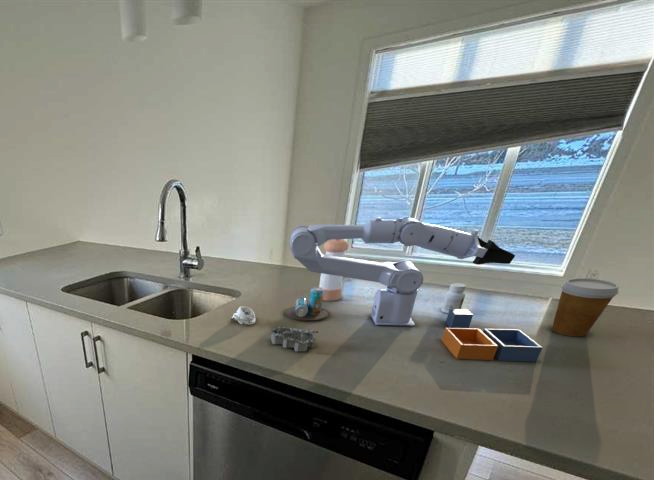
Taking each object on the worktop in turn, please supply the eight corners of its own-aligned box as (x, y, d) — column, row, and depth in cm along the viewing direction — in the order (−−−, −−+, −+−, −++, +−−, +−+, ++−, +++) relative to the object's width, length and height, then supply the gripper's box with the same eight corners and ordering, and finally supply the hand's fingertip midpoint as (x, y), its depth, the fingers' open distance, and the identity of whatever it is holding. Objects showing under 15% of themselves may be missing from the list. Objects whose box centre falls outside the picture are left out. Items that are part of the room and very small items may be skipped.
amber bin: (456, 358, 92) (461, 344, 91) (441, 340, 100) (445, 327, 99) (492, 360, 90) (498, 346, 89) (474, 341, 99) (479, 328, 97)
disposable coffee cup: (586, 325, 101) (609, 278, 95) (603, 341, 94) (630, 290, 88) (537, 322, 105) (556, 276, 99) (550, 337, 97) (572, 288, 91)
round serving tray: (328, 322, 116) (332, 295, 112) (284, 320, 120) (287, 294, 116) (326, 308, 126) (330, 282, 122) (286, 306, 129) (288, 282, 125)
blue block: (450, 328, 106) (455, 314, 104) (445, 323, 109) (449, 308, 107) (468, 329, 105) (473, 314, 103) (462, 323, 108) (467, 309, 106)
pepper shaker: (344, 300, 130) (354, 238, 121) (321, 301, 131) (330, 240, 121) (335, 293, 137) (344, 234, 127) (313, 294, 137) (321, 236, 127)
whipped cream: (242, 318, 127) (242, 302, 125) (261, 320, 122) (261, 304, 120) (227, 324, 122) (227, 308, 120) (246, 327, 117) (246, 310, 115)
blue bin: (498, 360, 90) (503, 346, 88) (479, 341, 98) (484, 328, 97) (536, 361, 88) (542, 347, 86) (513, 342, 96) (519, 329, 95)
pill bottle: (462, 314, 113) (471, 287, 109) (444, 314, 114) (453, 287, 110) (455, 308, 117) (463, 282, 113) (438, 308, 118) (446, 282, 114)
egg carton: (318, 345, 104) (320, 331, 102) (300, 354, 100) (302, 339, 98) (284, 334, 112) (285, 320, 110) (266, 342, 108) (267, 327, 106)
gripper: (467, 228, 92) (531, 244, 90) (446, 221, 104) (502, 235, 102) (448, 259, 96) (509, 275, 94) (430, 248, 108) (484, 262, 106)
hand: (504, 256), depth 98 cm, fingers open, 7 cm apart
